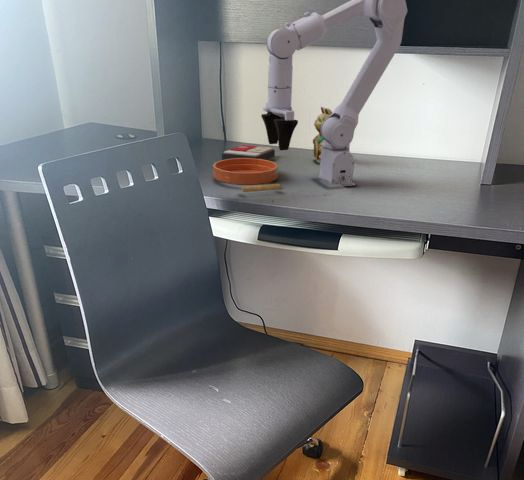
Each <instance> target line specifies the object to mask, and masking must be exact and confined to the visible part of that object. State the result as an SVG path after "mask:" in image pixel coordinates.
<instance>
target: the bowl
mask: <svg viewBox="0 0 524 480" xmlns="http://www.w3.org/2000/svg"><path fill="white" fill-rule="evenodd" d="M278 175H279V164H277V163H276V162H275V161H271V160H263V159H254V158H233V159H226V160H222V159H221V160H218V161H216V162H214V163H213V164H212V176H213V178H214V179H215V180H216V181H218V182H222V183H225V184H231V185H240V186H241V185H242V186H253V185H264V184H269V183H271V182H274V181H276V180H277V179H278V178H279V176H278Z"/></svg>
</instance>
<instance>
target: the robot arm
mask: <svg viewBox="0 0 524 480" xmlns="http://www.w3.org/2000/svg"><path fill="white" fill-rule="evenodd" d="M407 14H408V6H407V2H406V0H349V1H346V2H345V3H343V4H341V5H339V6H338V7H336V8H334V9H332V10H330V11H328V12H326V13H324V14H322V15H321V14H319V13H317V12H316V11H314V12H310V11H306V12H304V13H303V17H301V18H299V19H297V20H295V21H293V22H285V23H284V28H277V29H274V30H272V31H271V32H270V34H269V35H268V37H267V42H266V44H265V45H266V49H267V51H268V53H269V54H268V68H267V69H268V70H267V103H265V106H263V107H262V111H264V112H266V113H262V114H261V119H262V121H263V123H264V126H265V132H266V136H267V140H268V144H269V145H277V144H278V149H279V151H289V148H290V144H291V141H292V137H293V133H294V131H295V129H296V127H297V126H298V124H299V121H298V119H295V111H294V110H293V107H292V97H293V70H294V69H293V55H294V54H295V53H296V51H300V50H303V49H305V48H307V47H309V46H311V45H314V43H317V42H320V41H321V40H323V39H324V38H325V35H326V33H327V31H329V30H330V29H333V28H335V27H337V26H340V25H342V24H344V23H347V22H349V21H351V20H354V19H356V18H358V17H361V18H368V19H369V20H370V22H371V24H372V25H373V28H374V32H375V37H376V42H375V44H374V45H373V47H372V49H371V50H370V52H369V54H368V56H367V58H366V60H365V61H364V63H363V64H362V66H361V68H360V69H359V71H358V72H357V75H356V77H355V78H354V80H353V81H352V83H351V85H350V87H349V88H348V89H347V90H348V91H347V92H346V93H345V96H344V97H343V99H342V101H341V103H339V105H337V106H336V107H335V108H334V109H333V111H332V114H331V115H330V116H329V117H327V118H326V119H325V120H324V121H323V123H322V125H321V135H322V137H323V138H324V141H323V143H322V147H321V160H320V163H319V175H318V178H319V179H320V180H324V181H326V182H328V183H329V184H332V185H333V184H339V185H341V186H342V187H353V186H356V183H355V182H353V179H354V168H355V158H354V156H353V154H352V153H351V151H350V147H351V143H352V142H353V138H354V135H355V130H356V128H357V126H358V124H359V116H360V113H361V112H362V109H363V108H364V106H365V105H366V103H367V101H368V100H369V98H370V96H371V94H372V93H373V91H374V90H375V88H376V86H377V84H378V83H379V81H380V79H381V78H382V77H383V74H384V73H385V71H386V70H387V68H388V67H389V64H390V63H391V61H392V60H393V58H394V56H395V55H396V53H397V52H398V49H399V48H400V46H401V44H402V41H403V40H402V39H403V33H404V24H405V18H406V16H407Z"/></svg>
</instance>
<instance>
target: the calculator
mask: <svg viewBox="0 0 524 480" xmlns="http://www.w3.org/2000/svg"><path fill="white" fill-rule="evenodd" d="M275 155H276V150H275V149H274V148H273V147H268V146H256V145H248V144H241V145H238V146H236V147H232V148H229V150H225V151H223V152H222V153H221V160H226V159H233V158H254V159H263V160H268V161H270V160H271V159H272V158H274V157H275Z"/></svg>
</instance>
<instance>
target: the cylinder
mask: <svg viewBox="0 0 524 480" xmlns="http://www.w3.org/2000/svg"><path fill="white" fill-rule="evenodd" d="M281 186H282V185H281V184H280V183H270V184H269V183H266V184H253V185H242V186H241V187H240V190H241V192H243V193H249V192H262V191H276V190H281V188H282V187H281Z"/></svg>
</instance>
